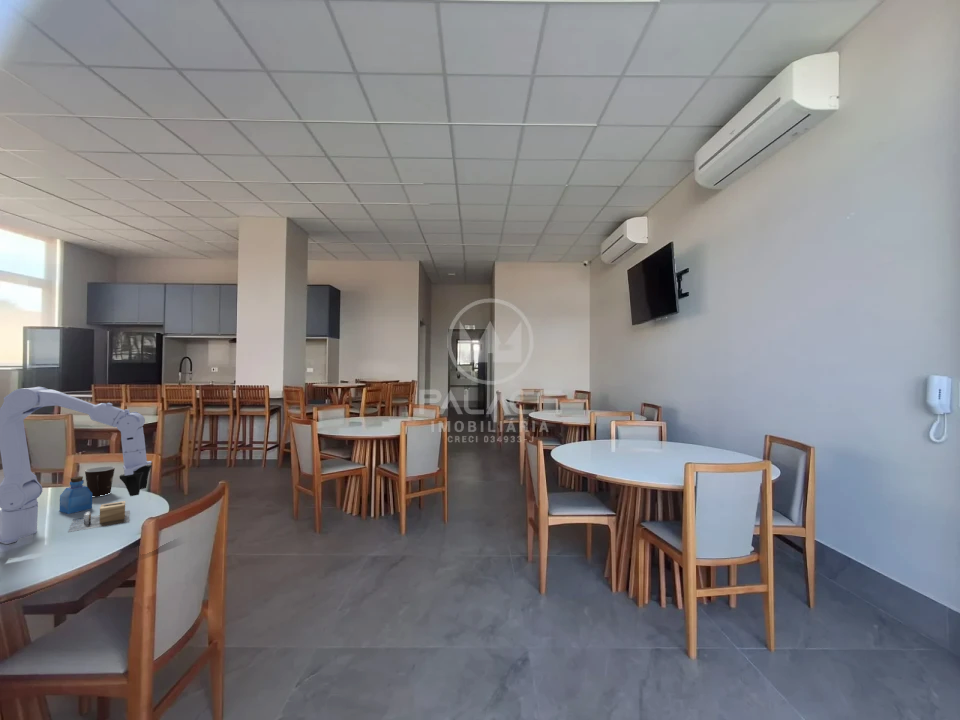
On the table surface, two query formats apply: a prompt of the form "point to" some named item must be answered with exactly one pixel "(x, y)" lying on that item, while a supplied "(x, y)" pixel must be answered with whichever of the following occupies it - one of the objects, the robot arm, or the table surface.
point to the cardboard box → (112, 511)
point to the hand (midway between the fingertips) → (138, 491)
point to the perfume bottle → (76, 497)
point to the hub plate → (94, 522)
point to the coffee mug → (99, 480)
